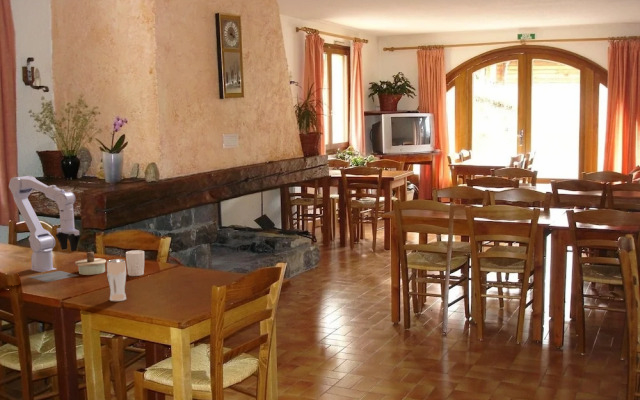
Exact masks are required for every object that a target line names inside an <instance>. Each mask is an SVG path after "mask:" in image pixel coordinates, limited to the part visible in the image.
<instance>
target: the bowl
mask: <svg viewBox="0 0 640 400" xmlns="http://www.w3.org/2000/svg"><path fill="white" fill-rule="evenodd" d="M105 272H106V263H105V264H102V265H97V266H78V275H79V274H80V275H83V276H84V275H86V276H90V275H99V274H103V273H105Z"/></svg>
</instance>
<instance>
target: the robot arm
mask: <svg viewBox="0 0 640 400" xmlns="http://www.w3.org/2000/svg"><path fill="white" fill-rule="evenodd" d="M8 188H9V190H10V192H11V194H12V198H13V201H14V203H15V205H16V207H17V209H18V210H19V213H20V215H21V217H22V218H23V220H24V222H25V225H26V227H27V228H28V230H29V232H30V235H29V237H28V241H29V245H30V248H31V250H32V251H33V252H32V253H31V255H30V256H31V258H30V259H31V268H30V271H34V272H37V273H38V272H39V273H43V272H49V271H53V270H57V268H55V267H54V266H53V265H54V263H53V249H54V247H55V246H56V239H55V237H56V238H57V239H58V242H59V245H60V248H61V250H67V249H68V241H69V245H70V246H69V247H70V250H71V252H76V251H77V250H78V245H79V242H80V240H81V239H80V238H81V237H82V235H81V234H80V230H78V229H76V228H75V215H74V204H75V202H76V195H75V193H74V192H72V191H71V190H70V191H69V190H68V191H65V189H61V188H59V187H57V185H55V184H52V185H47V184H45V183H43V182H41V181H40V180H38V179H36V176H32V175H23V176H14V177H11V178H10V180H9V184H8ZM34 190H35V191H38V192H41V193H42V194H44V195H45V197H46V198H48V199H50V200H52V201H54V202H55V203H56V204H57V207H58V210H59V219H60V220H59V222H60V223H59V224H60V227H59V228H56V234H55V237H54V236H53V235H52V234H51V232H50V231H49V230H47V229H45V228H43V226H42V224H41V222H40V220H39V218H38V216H37V214H36V212H35V210H34V208H33V206H32V204H31V202H30V200H29V196H31V194H32V191H34Z"/></svg>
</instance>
